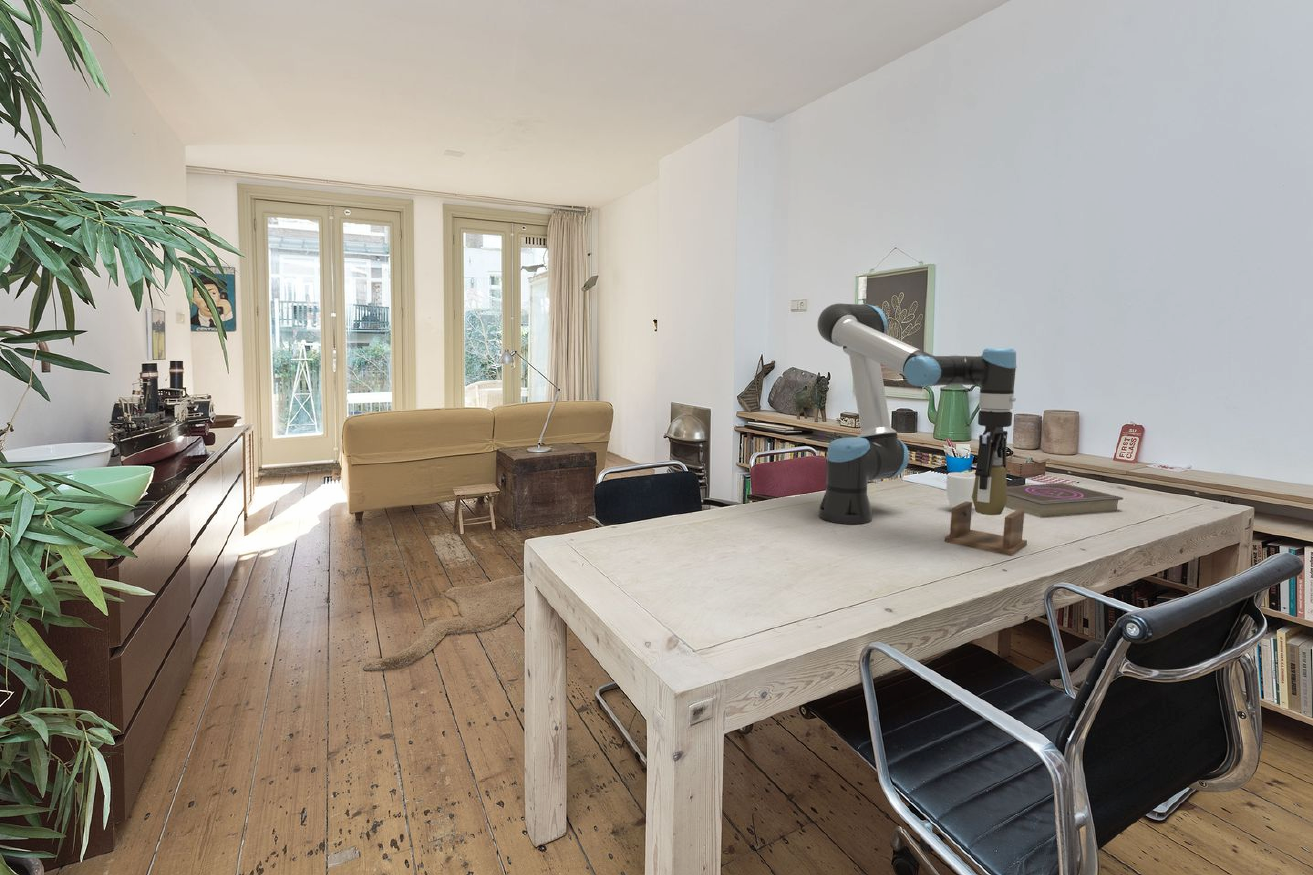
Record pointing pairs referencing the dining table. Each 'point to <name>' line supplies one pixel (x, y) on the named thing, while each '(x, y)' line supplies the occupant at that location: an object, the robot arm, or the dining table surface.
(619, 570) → the dining table surface
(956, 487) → the mug
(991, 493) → the squeeze bottle
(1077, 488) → the book
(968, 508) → the holder
